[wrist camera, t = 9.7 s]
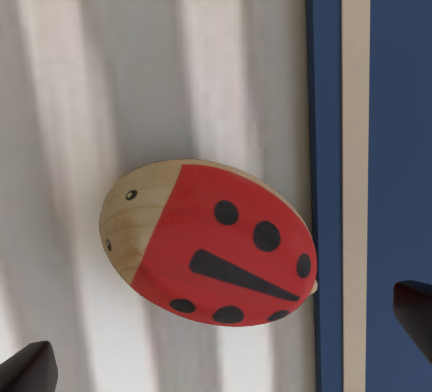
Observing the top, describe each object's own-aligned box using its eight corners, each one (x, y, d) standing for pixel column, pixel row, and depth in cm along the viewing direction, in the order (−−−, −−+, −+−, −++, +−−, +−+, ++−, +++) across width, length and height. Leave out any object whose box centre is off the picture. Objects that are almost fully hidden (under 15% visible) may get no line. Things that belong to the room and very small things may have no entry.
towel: (304, -38, 13) (312, -47, 12) (560, -47, 14) (580, -56, 14) (317, 412, 18) (322, 424, 17) (507, 372, 19) (519, 381, 18)
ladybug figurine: (132, 127, 13) (118, 127, 10) (334, 205, 15) (382, 228, 12) (82, 271, 14) (54, 317, 11) (278, 326, 16) (308, 380, 13)
